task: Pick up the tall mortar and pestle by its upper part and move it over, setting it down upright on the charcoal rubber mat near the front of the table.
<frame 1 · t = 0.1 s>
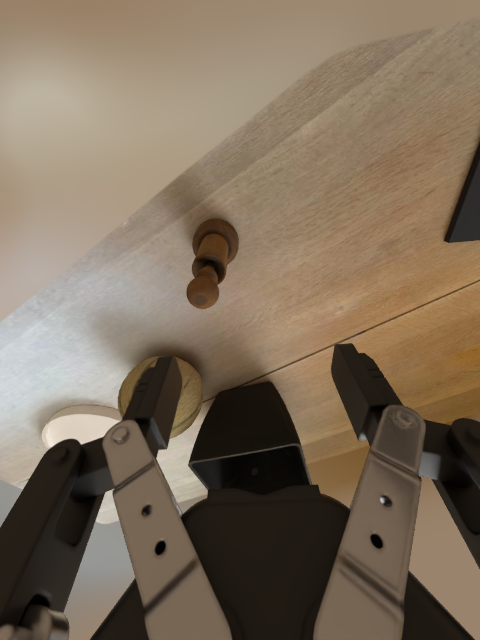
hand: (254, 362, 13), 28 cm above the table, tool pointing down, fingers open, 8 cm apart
plate: (105, 437, 66), on the table
flower pot: (252, 402, 58), on the table
cantaloupe: (171, 366, 52), on the table
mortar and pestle: (216, 241, 37), on the table
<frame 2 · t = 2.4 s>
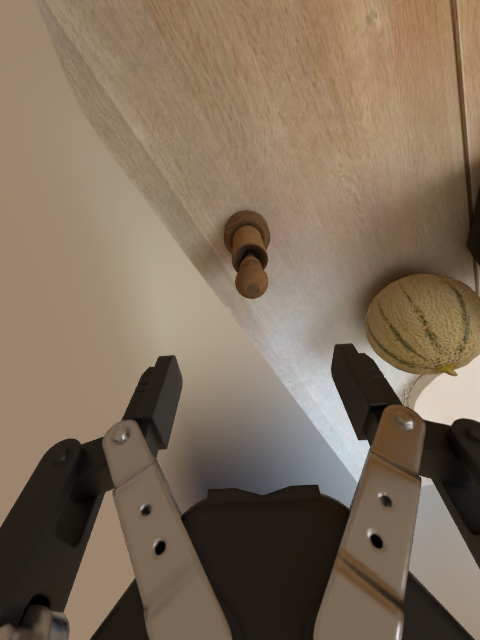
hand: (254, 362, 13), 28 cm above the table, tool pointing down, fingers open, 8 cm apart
plate: (473, 386, 56), on the table
cantaloupe: (393, 300, 43), on the table
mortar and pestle: (246, 233, 37), on the table
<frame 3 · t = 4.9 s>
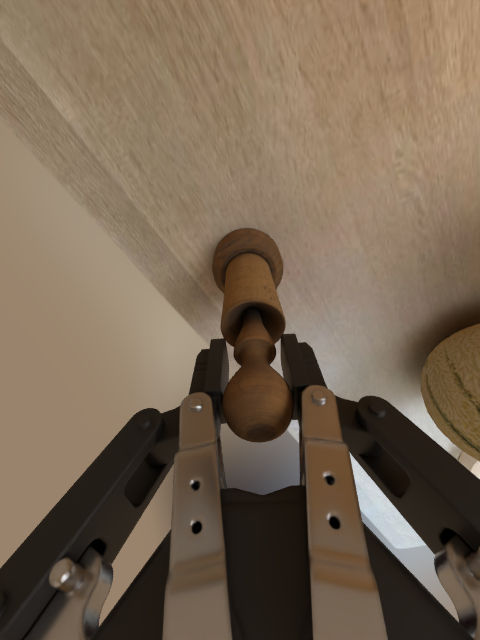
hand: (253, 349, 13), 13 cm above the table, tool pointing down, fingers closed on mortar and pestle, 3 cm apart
cantaloupe: (457, 345, 30), on the table
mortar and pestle: (247, 261, 25), on the table, touching gripper
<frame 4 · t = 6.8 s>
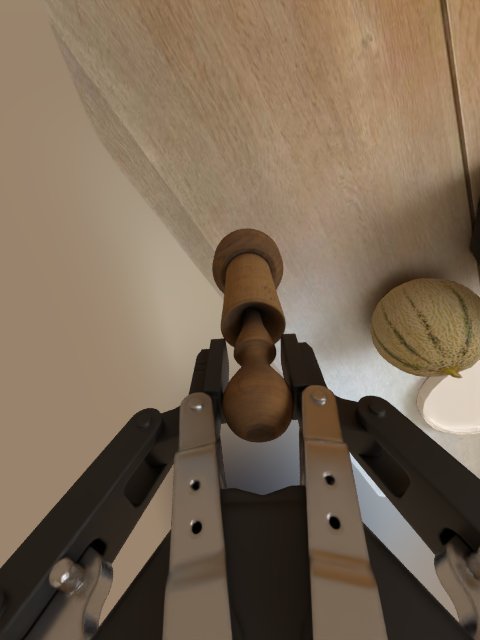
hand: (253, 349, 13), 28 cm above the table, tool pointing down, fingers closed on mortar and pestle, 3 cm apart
cantaloupe: (398, 303, 44), on the table
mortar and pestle: (247, 262, 25), point 15 cm above the table, touching gripper
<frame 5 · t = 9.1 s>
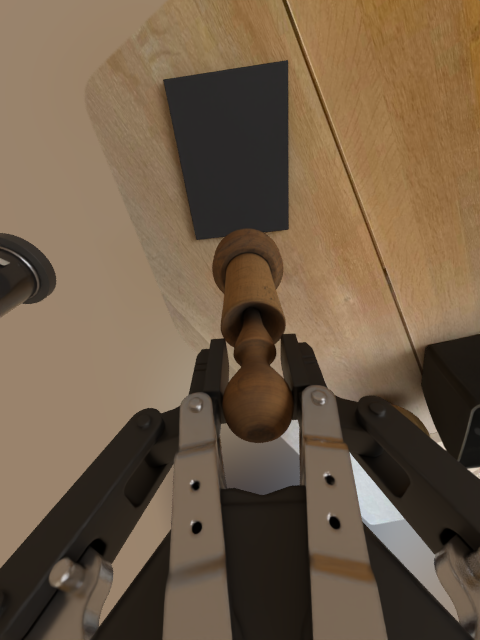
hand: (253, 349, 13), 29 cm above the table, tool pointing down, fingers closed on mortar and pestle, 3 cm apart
flower pot: (453, 359, 53), on the table
mat: (234, 164, 33), on the table
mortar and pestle: (247, 262, 25), point 16 cm above the table, touching gripper
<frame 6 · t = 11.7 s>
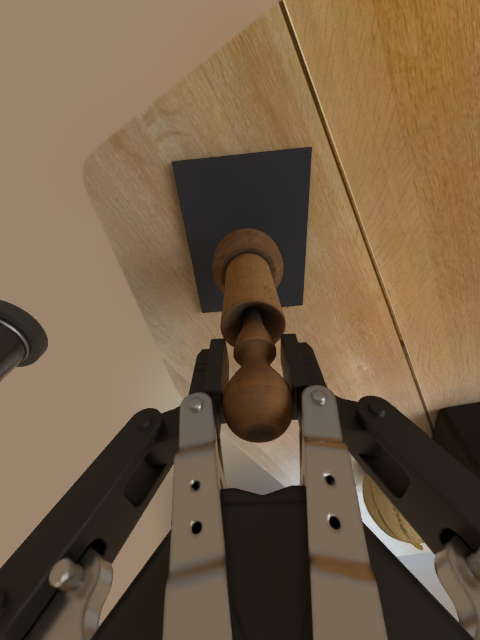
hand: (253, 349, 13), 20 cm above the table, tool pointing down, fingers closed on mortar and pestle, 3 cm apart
flower pot: (466, 420, 50), on the table
cantaloupe: (383, 463, 60), on the table
mat: (247, 242, 30), on the table
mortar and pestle: (247, 261, 24), point 7 cm above the table, touching gripper
when the fingers open (14 cm above the table, at t = 13.5 s): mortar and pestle stays where it is, resting on mat.
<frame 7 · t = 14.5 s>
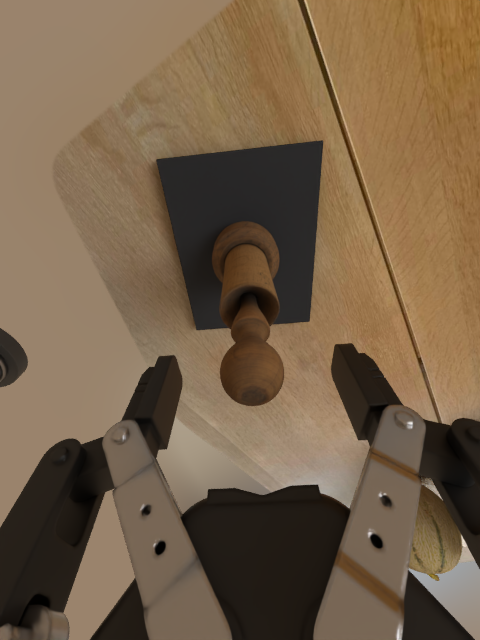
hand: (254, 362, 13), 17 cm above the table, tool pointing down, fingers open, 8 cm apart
cantaloupe: (393, 482, 56), on the table
mat: (246, 252, 26), on the table
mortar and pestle: (245, 253, 26), point 1 cm above the table, touching mat
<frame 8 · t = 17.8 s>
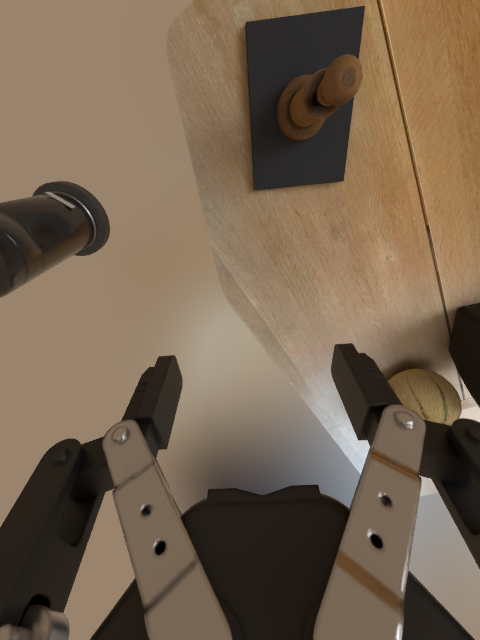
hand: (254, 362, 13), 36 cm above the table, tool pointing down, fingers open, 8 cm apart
plate: (461, 426, 77), on the table
cantaloupe: (402, 376, 65), on the table
mat: (299, 113, 35), on the table
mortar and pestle: (300, 111, 34), point 1 cm above the table, touching mat
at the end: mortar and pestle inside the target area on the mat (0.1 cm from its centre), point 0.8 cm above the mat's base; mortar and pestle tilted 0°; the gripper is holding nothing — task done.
